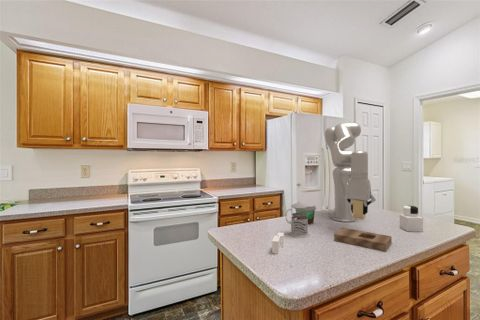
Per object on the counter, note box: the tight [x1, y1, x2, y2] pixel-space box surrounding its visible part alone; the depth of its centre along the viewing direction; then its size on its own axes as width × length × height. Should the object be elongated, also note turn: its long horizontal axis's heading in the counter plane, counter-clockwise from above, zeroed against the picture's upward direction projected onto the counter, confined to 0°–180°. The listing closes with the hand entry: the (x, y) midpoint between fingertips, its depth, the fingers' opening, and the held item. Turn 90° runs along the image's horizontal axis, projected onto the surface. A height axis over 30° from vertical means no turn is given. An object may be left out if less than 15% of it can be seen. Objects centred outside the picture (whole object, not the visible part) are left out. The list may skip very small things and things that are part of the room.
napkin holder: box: [271, 232, 285, 255], centre depth 98 cm, size 15×11×6 cm
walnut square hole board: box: [333, 227, 393, 252], centre depth 103 cm, size 20×12×3 cm, turn 48°
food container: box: [293, 205, 317, 225], centre depth 134 cm, size 12×6×10 cm, turn 73°
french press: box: [284, 182, 311, 238], centre depth 115 cm, size 10×12×25 cm
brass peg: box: [352, 200, 366, 220], centre depth 116 cm, size 4×4×9 cm
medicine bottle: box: [399, 205, 424, 233], centre depth 119 cm, size 7×7×12 cm
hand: (359, 212), depth 116 cm, fingers closed on brass peg, 4 cm apart
